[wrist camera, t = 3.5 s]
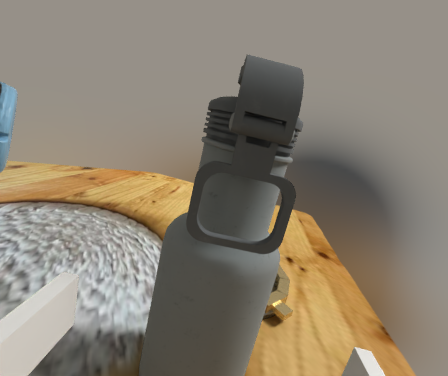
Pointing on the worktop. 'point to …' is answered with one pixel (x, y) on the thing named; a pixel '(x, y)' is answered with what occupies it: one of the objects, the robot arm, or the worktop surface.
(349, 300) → the worktop surface
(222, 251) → the water bottle
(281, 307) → the collar
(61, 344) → the worktop surface
